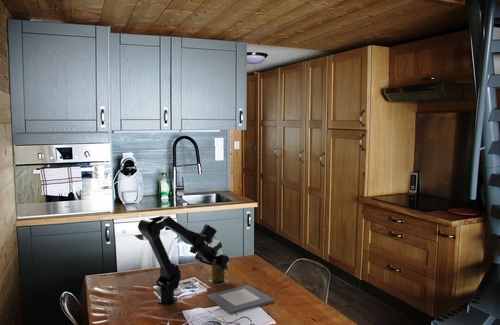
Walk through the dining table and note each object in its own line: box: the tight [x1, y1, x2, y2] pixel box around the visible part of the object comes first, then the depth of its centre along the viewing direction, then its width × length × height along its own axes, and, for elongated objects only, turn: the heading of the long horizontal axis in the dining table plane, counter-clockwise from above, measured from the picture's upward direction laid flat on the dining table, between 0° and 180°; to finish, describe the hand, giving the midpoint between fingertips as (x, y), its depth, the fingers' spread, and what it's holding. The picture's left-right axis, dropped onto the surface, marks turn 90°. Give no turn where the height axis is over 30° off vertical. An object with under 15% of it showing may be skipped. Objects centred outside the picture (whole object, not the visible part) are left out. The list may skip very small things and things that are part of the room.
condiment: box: [208, 260, 230, 286], centre depth 202 cm, size 7×8×12 cm
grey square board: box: [206, 284, 275, 315], centre depth 181 cm, size 22×20×1 cm
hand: (220, 267), depth 202 cm, fingers open, 9 cm apart
